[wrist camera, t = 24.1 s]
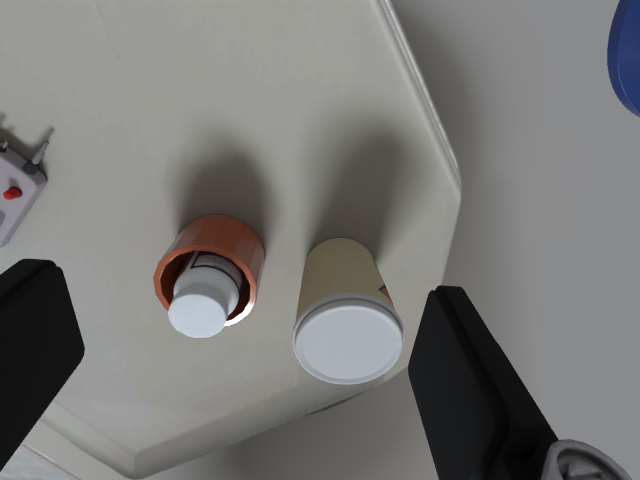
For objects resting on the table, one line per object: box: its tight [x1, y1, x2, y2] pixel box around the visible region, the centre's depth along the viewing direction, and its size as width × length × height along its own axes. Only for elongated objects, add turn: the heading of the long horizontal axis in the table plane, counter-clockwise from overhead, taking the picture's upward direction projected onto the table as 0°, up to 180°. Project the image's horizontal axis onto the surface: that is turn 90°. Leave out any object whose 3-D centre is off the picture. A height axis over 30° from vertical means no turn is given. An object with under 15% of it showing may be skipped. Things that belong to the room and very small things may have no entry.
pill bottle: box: [168, 251, 245, 338], centre depth 34 cm, size 6×6×10 cm
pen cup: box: [153, 214, 265, 326], centre depth 36 cm, size 9×9×6 cm
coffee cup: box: [292, 238, 405, 385], centre depth 35 cm, size 9×9×12 cm
